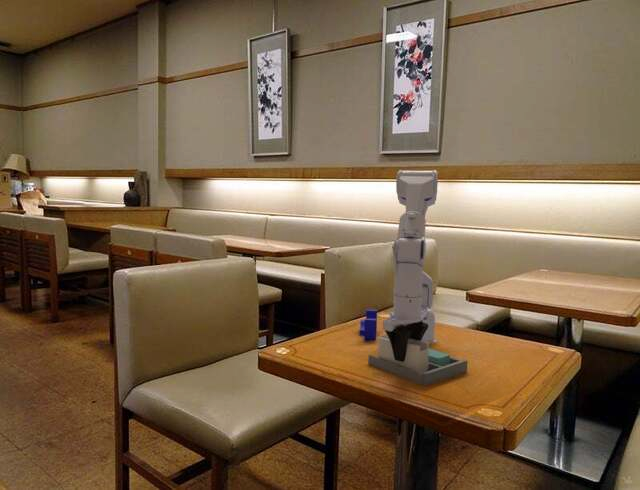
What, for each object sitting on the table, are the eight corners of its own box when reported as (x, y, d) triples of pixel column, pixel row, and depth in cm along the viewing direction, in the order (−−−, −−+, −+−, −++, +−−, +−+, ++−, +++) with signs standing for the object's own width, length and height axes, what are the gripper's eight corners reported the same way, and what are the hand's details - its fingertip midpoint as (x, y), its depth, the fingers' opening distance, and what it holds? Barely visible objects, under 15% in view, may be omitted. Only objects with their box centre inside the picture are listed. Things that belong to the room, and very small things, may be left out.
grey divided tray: (409, 354, 115) (410, 342, 114) (466, 374, 102) (467, 360, 102) (368, 366, 106) (368, 353, 106) (425, 389, 94) (425, 374, 93)
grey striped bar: (388, 360, 108) (389, 333, 107) (428, 371, 101) (429, 342, 100) (378, 364, 105) (378, 337, 104) (418, 375, 98) (418, 346, 97)
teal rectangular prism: (413, 356, 112) (414, 343, 111) (449, 368, 104) (450, 355, 104) (401, 359, 109) (402, 346, 109) (437, 372, 101) (438, 358, 101)
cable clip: (360, 329, 137) (361, 309, 136) (376, 330, 136) (377, 309, 135) (358, 342, 125) (359, 319, 124) (375, 343, 124) (376, 320, 124)
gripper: (411, 288, 109) (408, 346, 110) (371, 296, 98) (369, 361, 100) (438, 292, 104) (436, 353, 105) (400, 302, 94) (397, 369, 95)
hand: (405, 358), depth 102 cm, fingers closed on grey striped bar, 4 cm apart
